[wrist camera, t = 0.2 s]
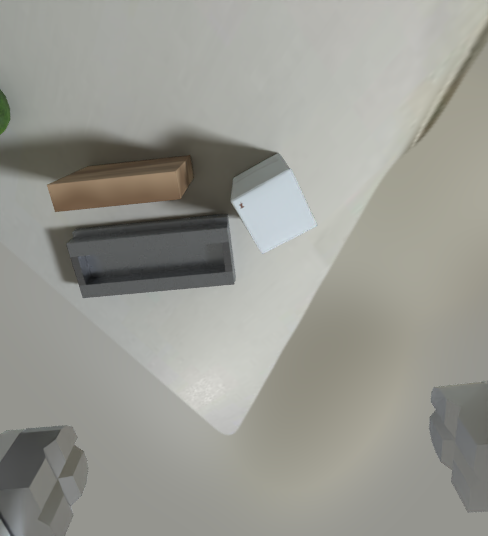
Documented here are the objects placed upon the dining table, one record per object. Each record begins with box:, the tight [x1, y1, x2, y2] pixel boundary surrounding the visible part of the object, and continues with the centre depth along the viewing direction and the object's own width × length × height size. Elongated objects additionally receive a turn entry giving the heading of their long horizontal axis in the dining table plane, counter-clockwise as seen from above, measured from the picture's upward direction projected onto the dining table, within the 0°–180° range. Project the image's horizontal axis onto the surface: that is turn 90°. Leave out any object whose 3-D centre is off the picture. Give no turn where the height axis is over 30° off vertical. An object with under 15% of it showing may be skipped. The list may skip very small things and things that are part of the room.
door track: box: [67, 214, 236, 298], centre depth 56 cm, size 10×22×4 cm, turn 96°
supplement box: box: [231, 153, 317, 254], centre depth 48 cm, size 7×7×13 cm
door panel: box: [47, 155, 194, 212], centre depth 48 cm, size 3×14×12 cm, turn 96°
